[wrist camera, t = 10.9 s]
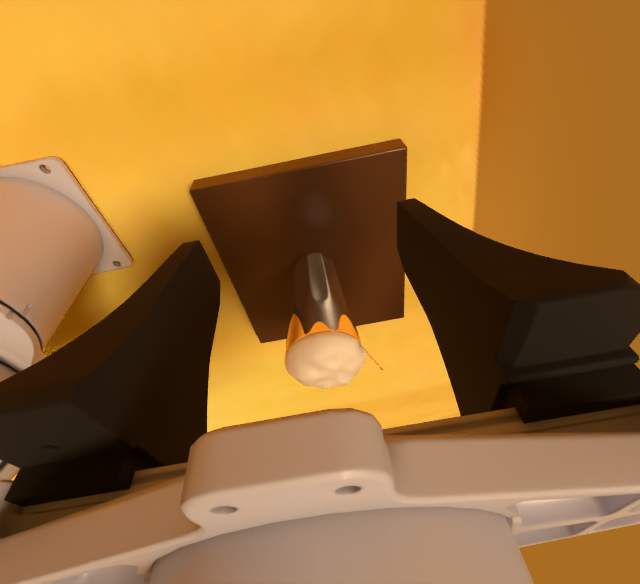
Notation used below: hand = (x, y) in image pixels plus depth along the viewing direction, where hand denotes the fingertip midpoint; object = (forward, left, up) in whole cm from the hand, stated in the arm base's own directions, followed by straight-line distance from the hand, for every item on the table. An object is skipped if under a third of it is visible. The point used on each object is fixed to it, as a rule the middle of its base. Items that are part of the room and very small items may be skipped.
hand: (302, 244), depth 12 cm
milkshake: (0, -8, -9) cm, 12 cm away
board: (0, -8, -10) cm, 13 cm away
